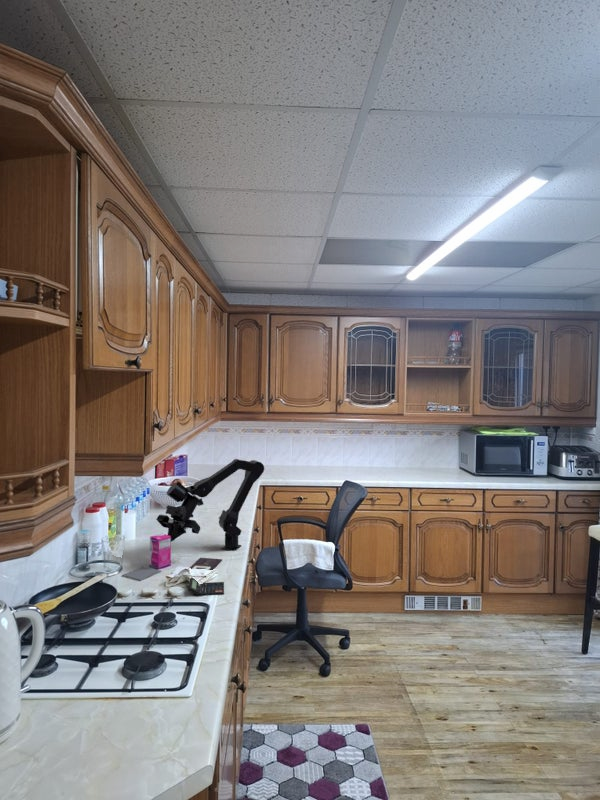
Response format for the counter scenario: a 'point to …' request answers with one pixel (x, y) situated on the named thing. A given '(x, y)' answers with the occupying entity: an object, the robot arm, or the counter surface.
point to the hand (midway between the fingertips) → (167, 542)
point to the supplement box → (160, 551)
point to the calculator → (206, 588)
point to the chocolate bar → (206, 563)
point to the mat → (141, 573)
